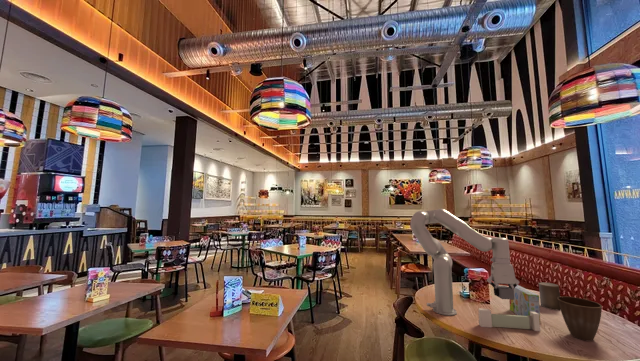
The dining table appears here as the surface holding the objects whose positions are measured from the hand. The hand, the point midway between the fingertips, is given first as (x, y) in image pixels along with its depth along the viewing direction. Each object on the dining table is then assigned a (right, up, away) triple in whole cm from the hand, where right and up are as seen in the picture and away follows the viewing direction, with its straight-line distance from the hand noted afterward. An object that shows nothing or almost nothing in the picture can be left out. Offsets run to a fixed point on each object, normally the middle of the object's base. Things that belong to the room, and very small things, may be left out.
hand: (503, 295), depth 138 cm
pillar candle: (+45, -17, +23) cm, 53 cm away
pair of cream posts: (-3, -13, -7) cm, 15 cm away
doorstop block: (0, -1, 0) cm, 1 cm away
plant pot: (+25, -12, -17) cm, 32 cm away
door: (-1, -13, -7) cm, 15 cm away
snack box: (+16, -15, +7) cm, 23 cm away
